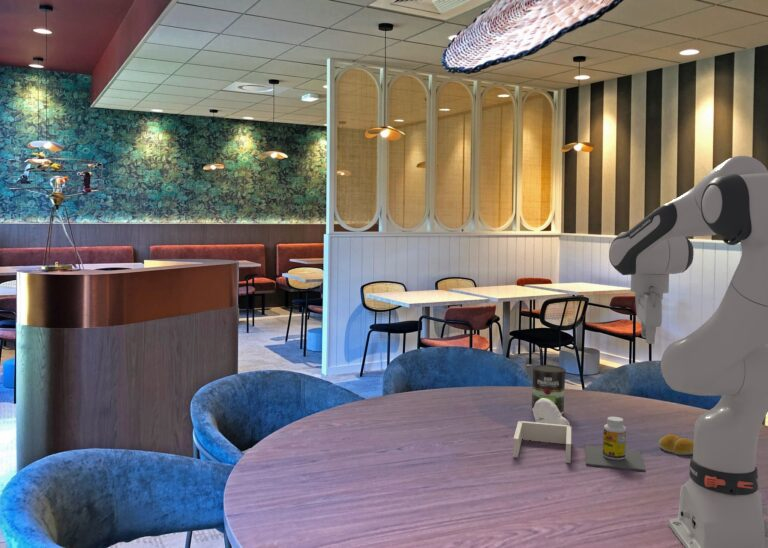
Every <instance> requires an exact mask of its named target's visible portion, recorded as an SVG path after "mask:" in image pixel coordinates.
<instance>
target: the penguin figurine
mask: <svg viewBox="0 0 768 548" xmlns="http://www.w3.org/2000/svg"><path fill="white" fill-rule="evenodd" d="M532 413H533V414H532V415H533V417H534V419H535V421H534V422H537V423H548V424H559V425H570V421H569V420H568V419H566V418H565V417H564V416H563V414H561V413H560V411H559V410H558V408H557V406H556V405H555V404H554V403H553V402H552V401H551V400H549V399H547V398H541V399H539V400H538V401H537V402H536V403H535V405H534V408H533V411H532ZM570 426H571V425H570Z"/></svg>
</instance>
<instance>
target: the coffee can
mask: <svg viewBox="0 0 768 548" xmlns="http://www.w3.org/2000/svg"><path fill="white" fill-rule="evenodd" d="M566 371H567V370H566V369H565V368H564V367H561V366H558V365H549V364H539V365H534V366H532V388H531V389H532V390H531V392H532V395H531V412H533V408H534V405H535V403H536V402H537V401H538V400H539V399H541V398H547V399H549V400H551V401H552V402H553V403H554V404H555V405H556V406H557V408H558V410H559V411H560V413H561V414H562V415H563V414H564V413H565V410H564V409H565V386H566V385H565V382H566Z"/></svg>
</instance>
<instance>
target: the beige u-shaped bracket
mask: <svg viewBox="0 0 768 548" xmlns="http://www.w3.org/2000/svg"><path fill="white" fill-rule="evenodd" d="M522 439H523V440H522ZM529 440H531V441H530V442H539V441H540V442H542V443H549V442H550V443H552V444H560V445H561V444H562V445H565V464H566V463H567V464H571V459H572V458H571V456H572V455H571V454H572V453H571V452H572V425H559V424H548V423H537V422H536V421H525V420H524V421H523V420H518V421H517V424H516V428H515V432H514V436H513V446H512V447H513V451H512V457H513V458H519V453H520V450H521V447H522V446H521V445H522V441H529ZM540 442H539V443H540Z"/></svg>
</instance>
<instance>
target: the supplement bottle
mask: <svg viewBox="0 0 768 548" xmlns="http://www.w3.org/2000/svg"><path fill="white" fill-rule="evenodd" d="M606 422H607V423H606V424H604V426H603V435H602V438H603V439H602V447H603V456H604V457H606V458H608V459H611V460H622V459H624V458H625V449H626V446H627V445H626V444H627V428H626V426H625V425H624V419H623V418H622V417H619V416H608V417H607V419H606Z"/></svg>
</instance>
